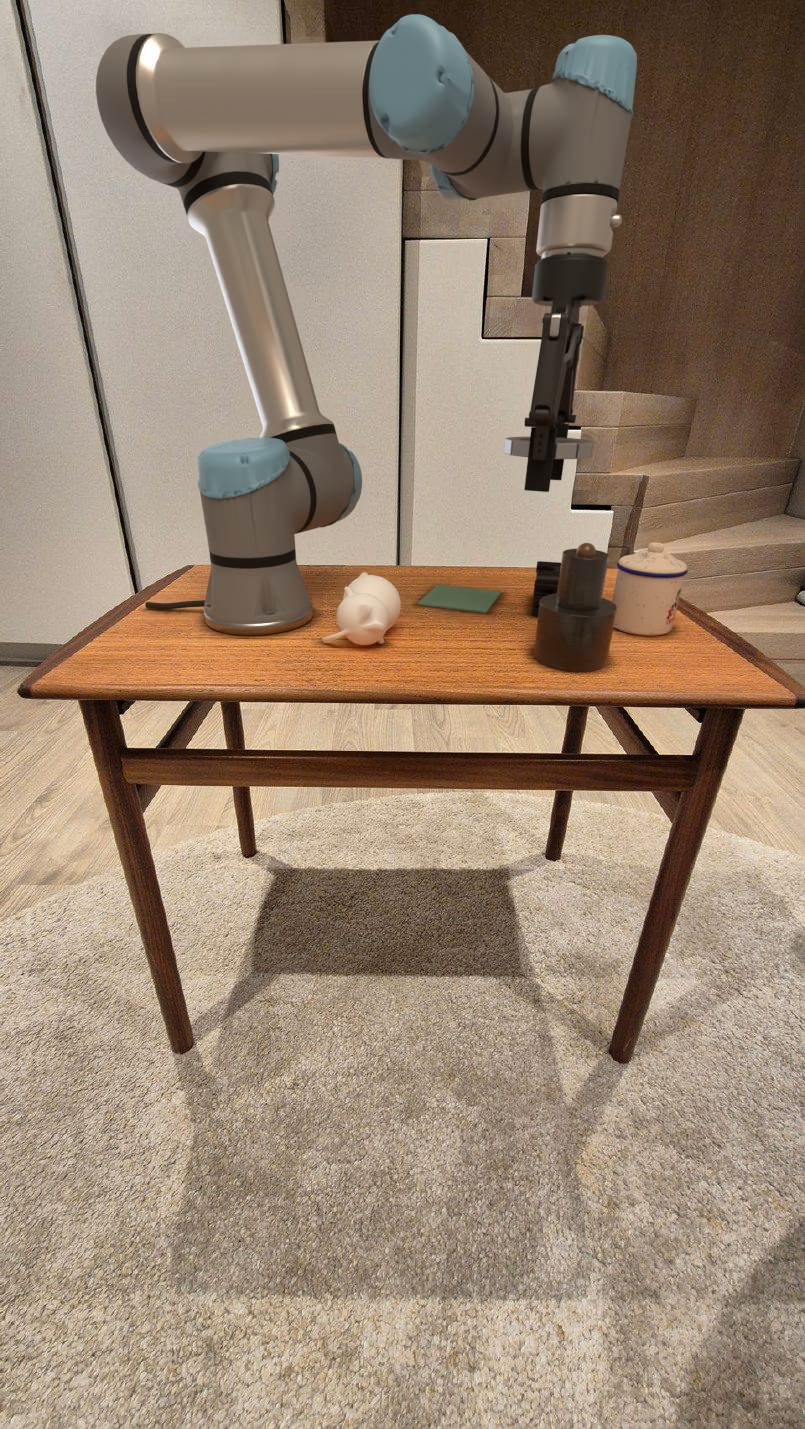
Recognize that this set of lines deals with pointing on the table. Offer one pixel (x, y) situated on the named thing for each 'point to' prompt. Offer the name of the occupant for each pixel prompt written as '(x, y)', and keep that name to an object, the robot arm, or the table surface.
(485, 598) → the mat
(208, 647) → the table surface
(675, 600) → the teacup with lid
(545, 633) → the dark stepped cylinder
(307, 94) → the robot arm
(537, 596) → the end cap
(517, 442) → the segmented gray ring
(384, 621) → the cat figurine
